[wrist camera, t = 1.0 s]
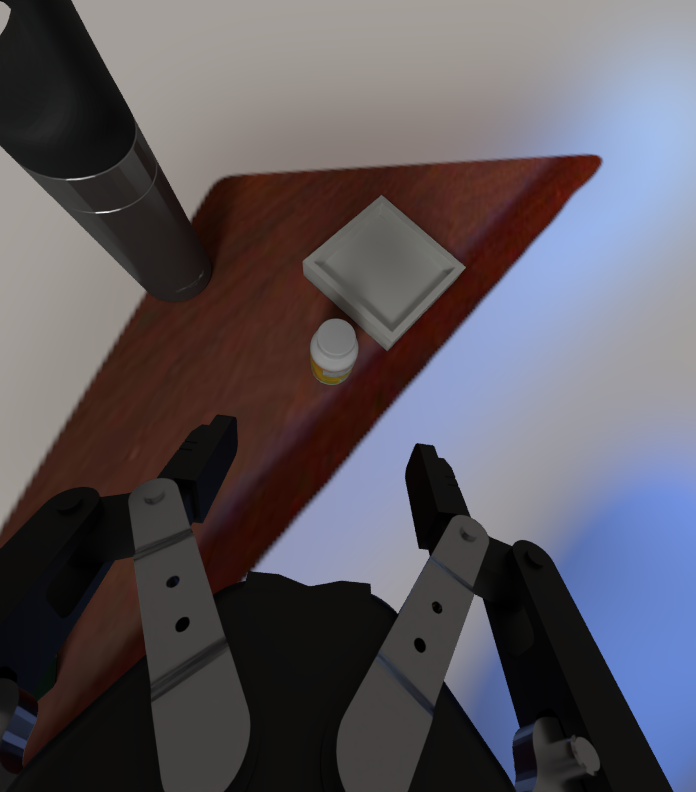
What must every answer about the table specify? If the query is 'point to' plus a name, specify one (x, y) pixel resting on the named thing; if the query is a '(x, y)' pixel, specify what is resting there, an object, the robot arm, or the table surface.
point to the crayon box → (46, 681)
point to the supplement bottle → (333, 351)
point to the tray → (382, 271)
